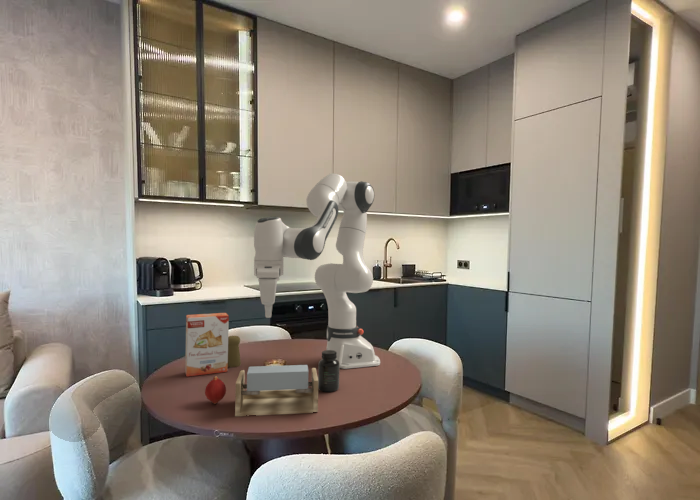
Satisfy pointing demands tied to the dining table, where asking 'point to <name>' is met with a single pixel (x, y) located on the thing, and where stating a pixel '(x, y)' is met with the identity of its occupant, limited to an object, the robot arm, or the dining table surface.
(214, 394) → the red round piece
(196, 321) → the cracker box
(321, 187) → the robot arm
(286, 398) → the tray
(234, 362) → the olive double rounded piece
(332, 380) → the supplement bottle
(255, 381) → the light grey rectangular block
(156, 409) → the dining table surface
